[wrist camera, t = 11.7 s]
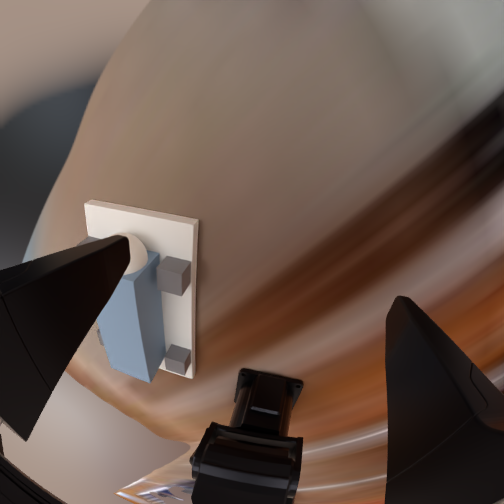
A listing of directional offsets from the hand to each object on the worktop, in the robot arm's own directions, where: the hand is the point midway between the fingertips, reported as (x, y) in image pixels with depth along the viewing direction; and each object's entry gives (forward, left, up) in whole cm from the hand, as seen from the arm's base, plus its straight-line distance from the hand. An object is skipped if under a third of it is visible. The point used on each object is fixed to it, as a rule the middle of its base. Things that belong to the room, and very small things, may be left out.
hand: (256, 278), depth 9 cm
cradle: (-13, +11, -11) cm, 20 cm away
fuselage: (-13, +11, -10) cm, 20 cm away
